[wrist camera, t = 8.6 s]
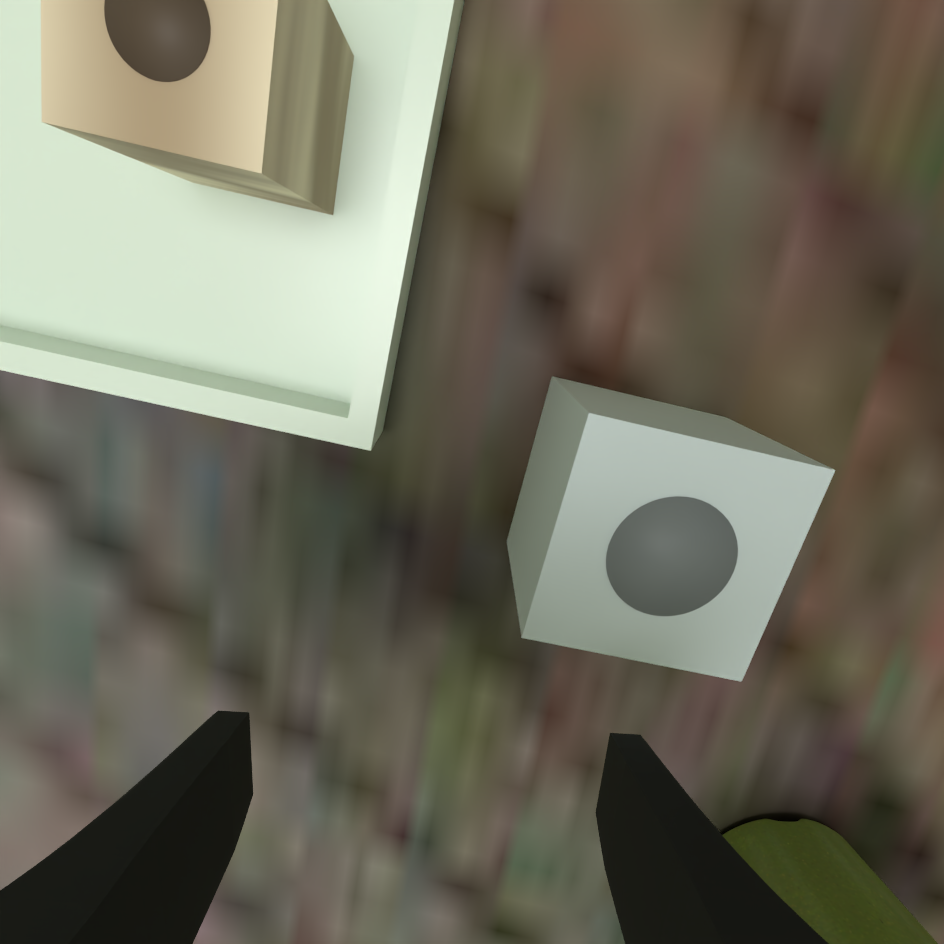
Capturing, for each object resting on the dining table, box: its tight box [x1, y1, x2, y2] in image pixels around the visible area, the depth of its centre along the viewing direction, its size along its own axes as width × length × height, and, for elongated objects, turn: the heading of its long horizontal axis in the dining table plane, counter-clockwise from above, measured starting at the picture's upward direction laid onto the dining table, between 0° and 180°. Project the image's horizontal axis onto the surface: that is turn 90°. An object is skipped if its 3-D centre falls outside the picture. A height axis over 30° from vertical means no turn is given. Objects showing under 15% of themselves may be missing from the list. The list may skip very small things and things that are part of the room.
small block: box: [41, 0, 354, 215], centre depth 13 cm, size 4×4×6 cm
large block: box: [507, 376, 835, 682], centre depth 17 cm, size 6×6×6 cm
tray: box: [0, 0, 465, 451], centre depth 15 cm, size 16×14×2 cm
